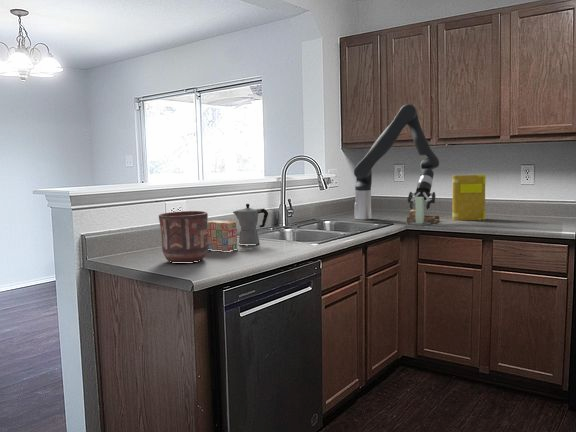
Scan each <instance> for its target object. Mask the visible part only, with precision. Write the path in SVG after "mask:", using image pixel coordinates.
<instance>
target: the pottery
mask: <svg viewBox="0 0 576 432" xmlns="http://www.w3.org/2000/svg"><path fill="white" fill-rule="evenodd" d="M208 217H209V215H208V212H207V211H203V210H202V211H200V210H198V211H197V210H188V211H186V210H185V211H184V210H182V211H173V212H165V213H164V212H163V213H160V214H158V220H159V227H160V236H161V237H160V238H161V250H162V254H163V256H164V258H165V259H166V260H167V261H168V262H169V261H171V262H194V261H199V260H202V261H203V260H204V258H205V257H206V255H207V254H208V251H207V250H208V239H207V221H208V219H209V218H208Z"/></svg>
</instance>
